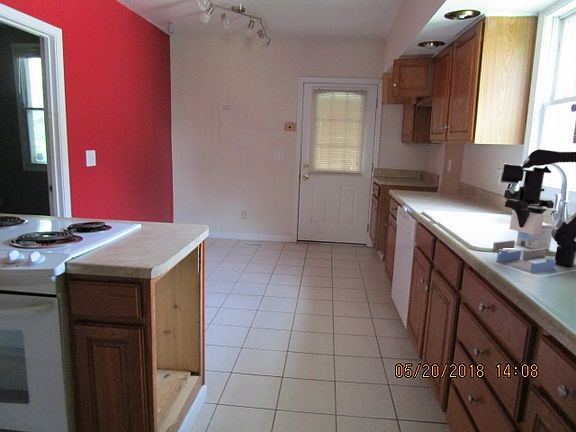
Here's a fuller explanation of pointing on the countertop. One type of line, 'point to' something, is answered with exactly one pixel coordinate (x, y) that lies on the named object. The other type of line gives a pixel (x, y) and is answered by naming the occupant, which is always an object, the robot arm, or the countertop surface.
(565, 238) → the robot arm
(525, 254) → the grey flat block
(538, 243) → the light bulb box
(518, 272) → the countertop surface
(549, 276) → the countertop surface
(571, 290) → the countertop surface
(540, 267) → the blue bezel bay
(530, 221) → the pale pink flat box
